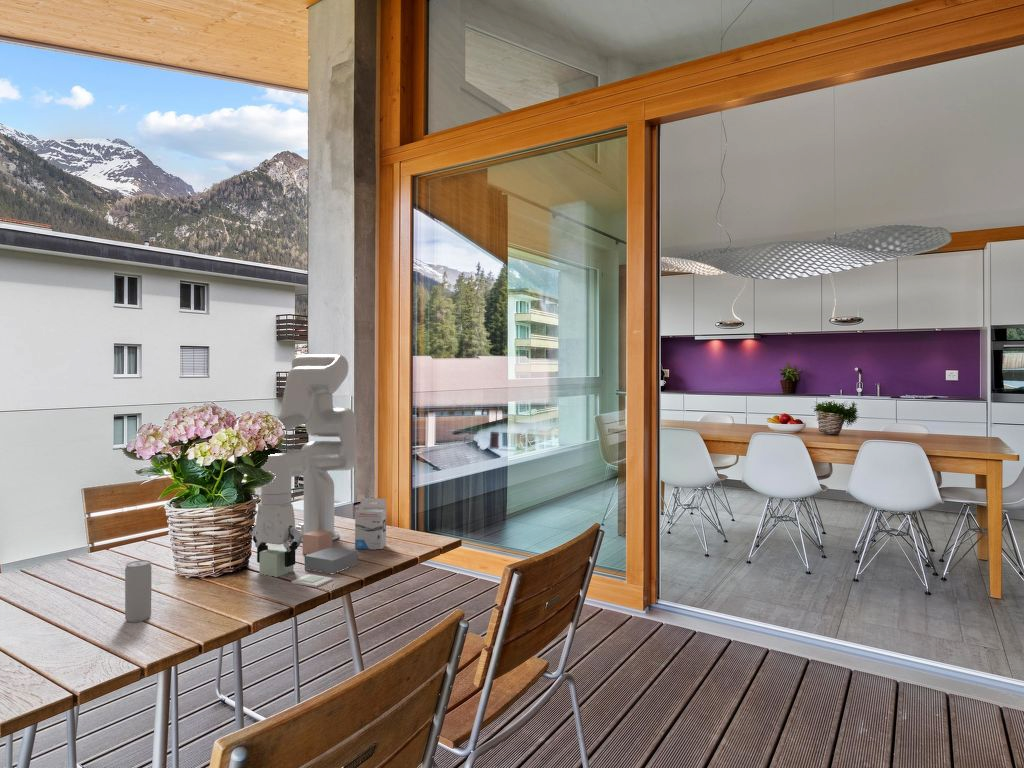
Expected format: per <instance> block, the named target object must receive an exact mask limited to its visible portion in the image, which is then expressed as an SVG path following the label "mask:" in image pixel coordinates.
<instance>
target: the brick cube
mask: <svg viewBox="0 0 1024 768" xmlns="http://www.w3.org/2000/svg"><path fill="white" fill-rule="evenodd" d="M329 547H333V540H332V532H331V531H323V530H314V531H311V532H308V533H305V534H303V542H302V555H304V554H311V553H314V552H317V551H320V550H323V549H326V548H329Z"/></svg>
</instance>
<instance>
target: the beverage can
mask: <svg viewBox="0 0 1024 768" xmlns="http://www.w3.org/2000/svg"><path fill="white" fill-rule="evenodd" d="M124 601H125V602H124V603H125V604H124V610H125V611H124V614H125V615H124V616H125V617H124V618H125V620H126V621H127V622H128V623H133V624H135V623H141V622H144V621H147V620H148V619H150V617H151V616H152V563H151V560H147V559H146V560H145V559H144V560H143V559H141V560H134V561H130V562H128V563H126V564H125V568H124Z"/></svg>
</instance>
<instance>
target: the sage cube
mask: <svg viewBox="0 0 1024 768" xmlns="http://www.w3.org/2000/svg"><path fill="white" fill-rule="evenodd" d="M286 551H287V550H286V548H285V547H284V546H278V545H277V546H273V547H271V548H268V549H267V550H264V551H261V552H260V563H259V575H261V574H264V575H263V576H266V575H268V576H267V577H272V576H274V577H273V578H278V576H279V577H281V576H284V575H286V574H289V573H292V572H293V570H294V566H295V564H294V565H292V566H289V567H285V552H286ZM294 571H295V570H294ZM288 572H289V573H288ZM283 574H284V575H283Z"/></svg>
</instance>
